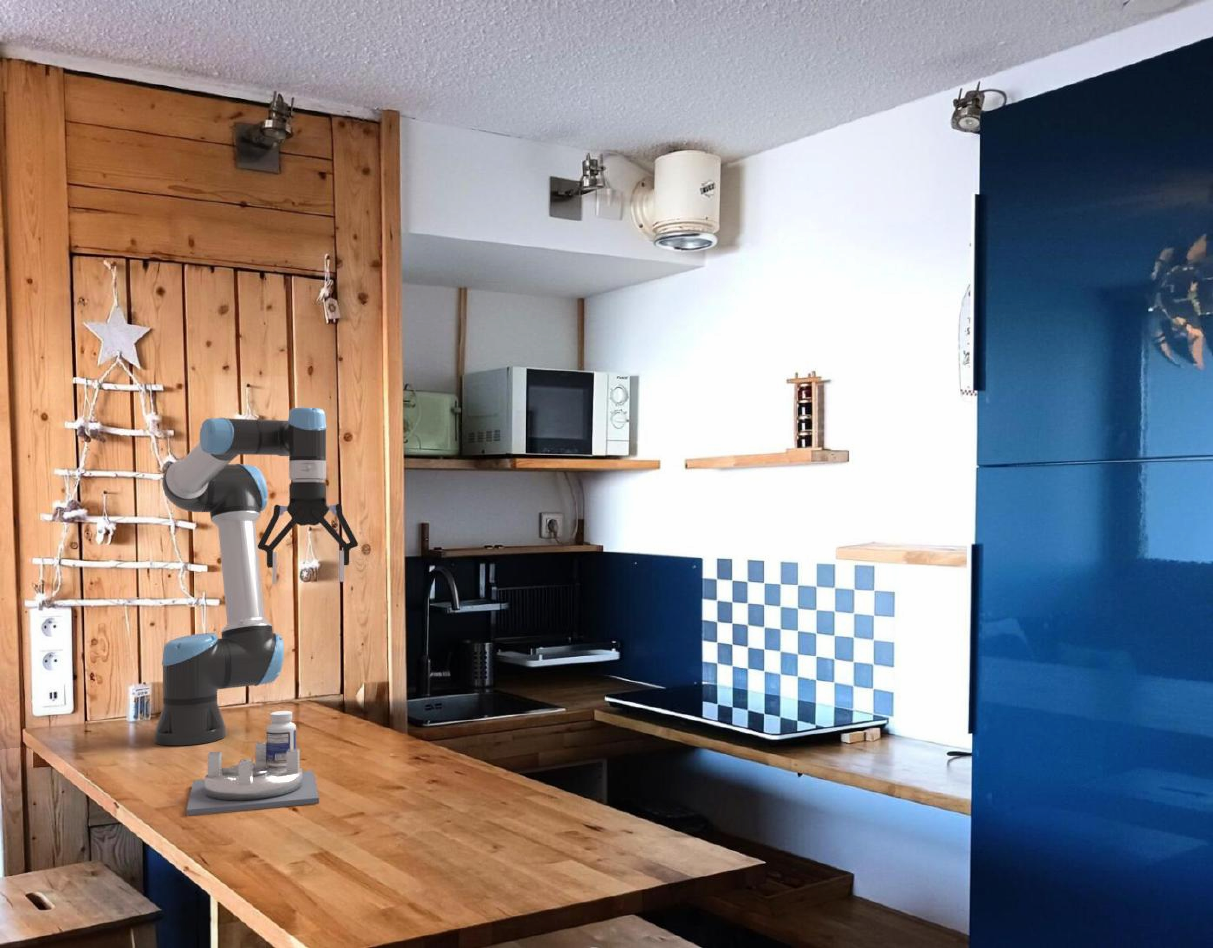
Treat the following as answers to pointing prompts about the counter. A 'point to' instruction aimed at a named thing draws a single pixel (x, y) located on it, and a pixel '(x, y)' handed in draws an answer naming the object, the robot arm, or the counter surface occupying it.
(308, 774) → the grey square plate
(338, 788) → the counter surface
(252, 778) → the grey shallow round piece
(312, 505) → the robot arm
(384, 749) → the counter surface
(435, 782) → the counter surface
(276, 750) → the pill bottle
